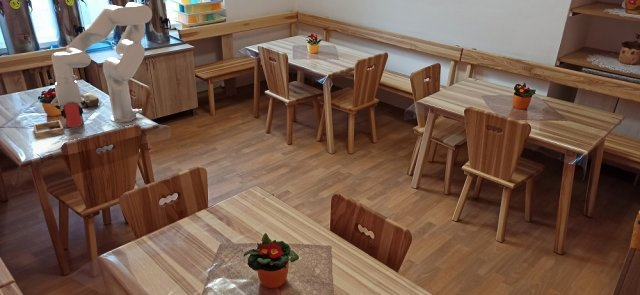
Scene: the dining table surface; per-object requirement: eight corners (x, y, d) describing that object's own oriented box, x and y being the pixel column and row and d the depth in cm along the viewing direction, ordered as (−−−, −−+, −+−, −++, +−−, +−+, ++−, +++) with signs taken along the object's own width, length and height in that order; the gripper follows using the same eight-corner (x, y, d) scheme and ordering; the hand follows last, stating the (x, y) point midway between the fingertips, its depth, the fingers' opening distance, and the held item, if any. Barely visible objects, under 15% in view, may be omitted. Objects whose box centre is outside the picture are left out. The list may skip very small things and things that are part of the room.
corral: (61, 125, 238) (59, 120, 236) (64, 133, 229) (63, 128, 228) (34, 130, 232) (33, 124, 230) (37, 139, 223) (35, 133, 222)
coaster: (85, 126, 237) (84, 125, 237) (88, 133, 230) (88, 131, 230) (64, 130, 232) (64, 129, 232) (67, 137, 226) (67, 135, 225)
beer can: (76, 128, 226) (71, 104, 221) (63, 127, 227) (58, 103, 222) (85, 123, 232) (80, 99, 227) (73, 122, 233) (68, 98, 228)
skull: (71, 108, 256) (75, 90, 259) (82, 115, 266) (86, 98, 269) (92, 109, 255) (96, 91, 258) (103, 116, 265) (106, 98, 268)
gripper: (84, 75, 227) (91, 110, 235) (43, 80, 219) (51, 117, 226) (87, 79, 222) (94, 115, 229) (45, 84, 213) (53, 122, 221)
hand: (72, 116), depth 228 cm, fingers closed on beer can, 6 cm apart
